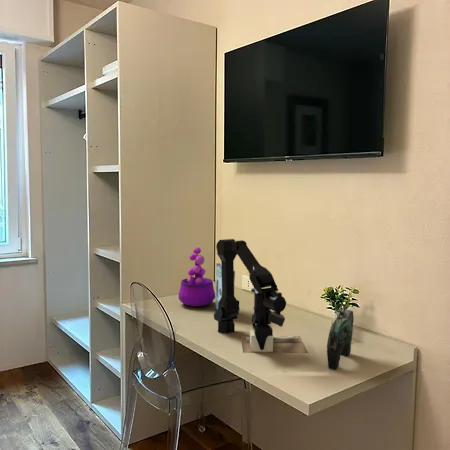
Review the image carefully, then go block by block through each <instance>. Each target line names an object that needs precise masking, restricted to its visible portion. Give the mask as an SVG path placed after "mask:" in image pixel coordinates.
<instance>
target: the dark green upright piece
mask: <svg viewBox="0 0 450 450" xmlns="http://www.w3.org/2000/svg"><path fill="white" fill-rule="evenodd" d="M342 308H343V309H342ZM337 311H338V313H337V316H336V318H335V320H334V321H333V322H332V323H331V326H330V329H329V332H328V336H327V337H328V338H327V344H326V355H327V366H328V369H329V370H335V371H336V370H338V369H339V365H340V360H341V356H343V357H349V355H351V351H352V340H353V331H354V327H353V326H354V318H355V317H354V311H353V310H351V309H347V307H346V305H345V304H343V303H342V304H341V305H340V310H339V309H338V310H337Z"/></svg>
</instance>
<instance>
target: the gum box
mask: <svg viewBox="0 0 450 450" xmlns="http://www.w3.org/2000/svg"><path fill="white" fill-rule="evenodd" d="M215 274H216V275H215V309H216V310H217V309H218V303H219V301H220V299H221V297H222V265H221V263H220V262H219V263H216V272H215ZM235 278H236V270H234V284H235V280H236V279H235Z"/></svg>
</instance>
